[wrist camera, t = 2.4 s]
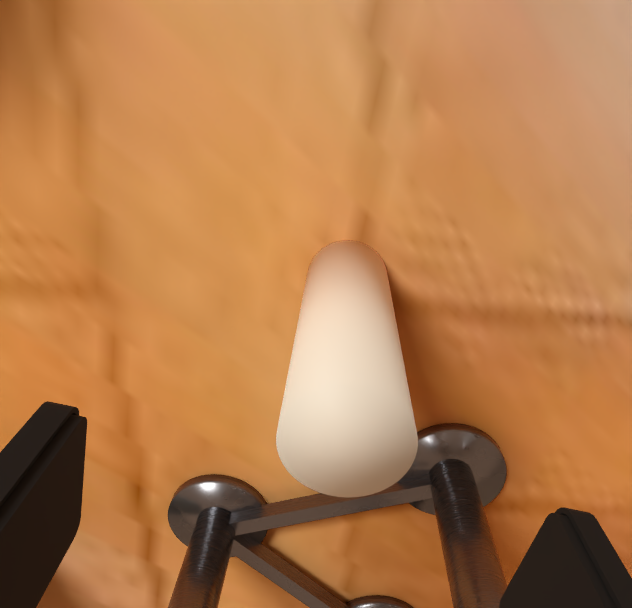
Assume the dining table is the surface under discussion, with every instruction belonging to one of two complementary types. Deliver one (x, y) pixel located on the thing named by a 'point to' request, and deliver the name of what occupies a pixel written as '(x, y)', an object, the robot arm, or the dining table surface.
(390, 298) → the dowel
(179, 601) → the upright post stand
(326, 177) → the dining table surface
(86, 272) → the dining table surface
